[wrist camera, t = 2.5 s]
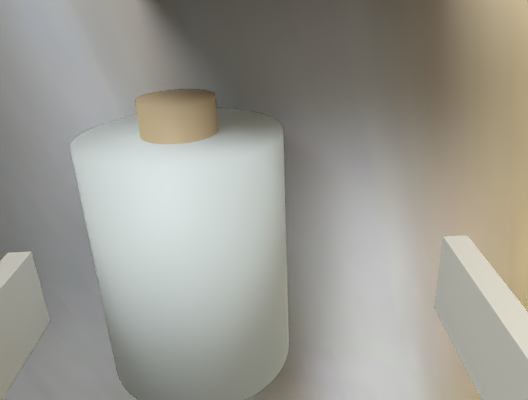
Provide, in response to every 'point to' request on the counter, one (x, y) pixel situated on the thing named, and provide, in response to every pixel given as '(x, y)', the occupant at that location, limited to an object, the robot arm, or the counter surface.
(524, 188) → the counter surface
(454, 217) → the counter surface
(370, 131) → the counter surface
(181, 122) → the roll
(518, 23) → the counter surface
